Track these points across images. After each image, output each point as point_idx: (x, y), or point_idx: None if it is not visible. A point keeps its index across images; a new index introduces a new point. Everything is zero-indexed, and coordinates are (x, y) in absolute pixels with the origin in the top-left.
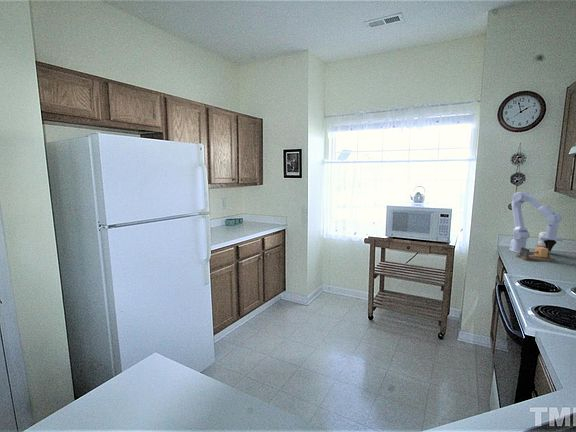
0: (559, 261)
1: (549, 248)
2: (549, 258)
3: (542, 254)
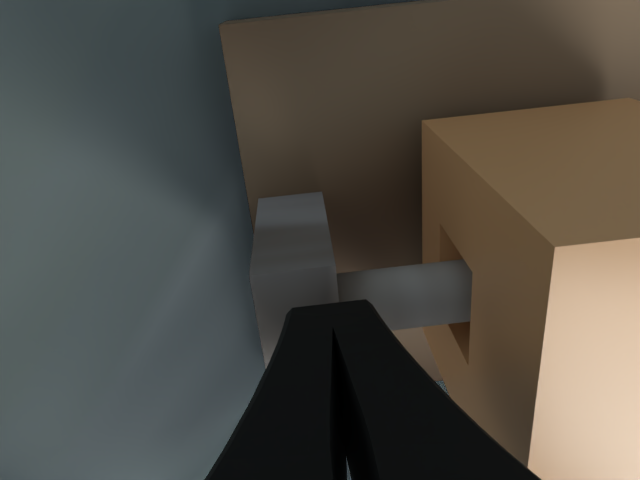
0: (90, 66)
1: (395, 360)
2: (356, 94)
3: (627, 124)
